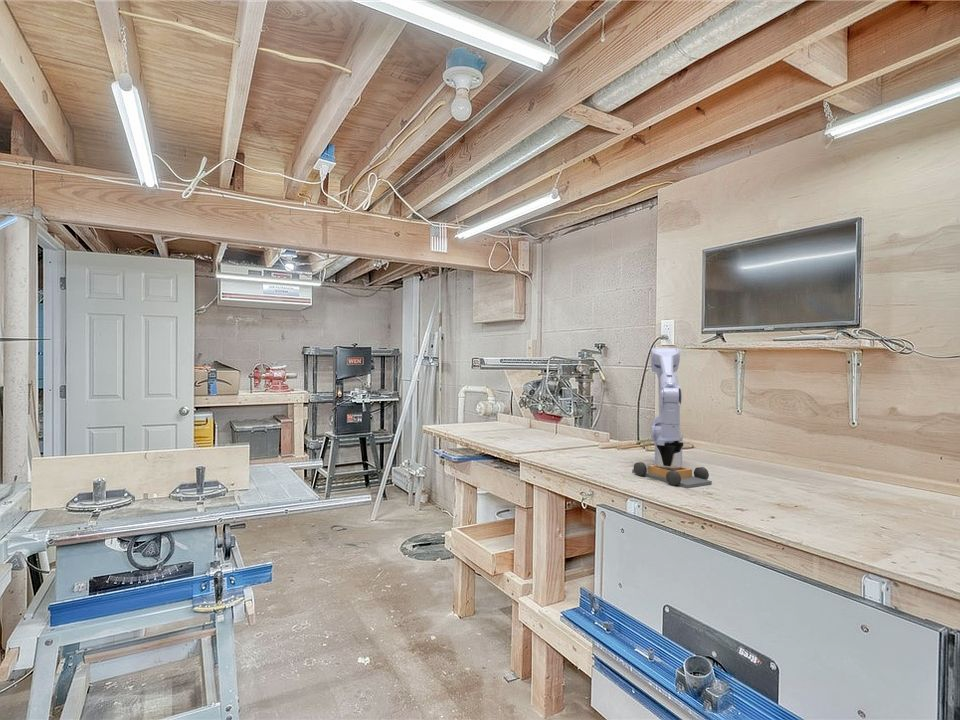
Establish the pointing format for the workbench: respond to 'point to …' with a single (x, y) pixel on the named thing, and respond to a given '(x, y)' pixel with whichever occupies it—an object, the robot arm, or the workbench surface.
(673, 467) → the engine block
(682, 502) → the workbench surface
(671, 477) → the chassis
